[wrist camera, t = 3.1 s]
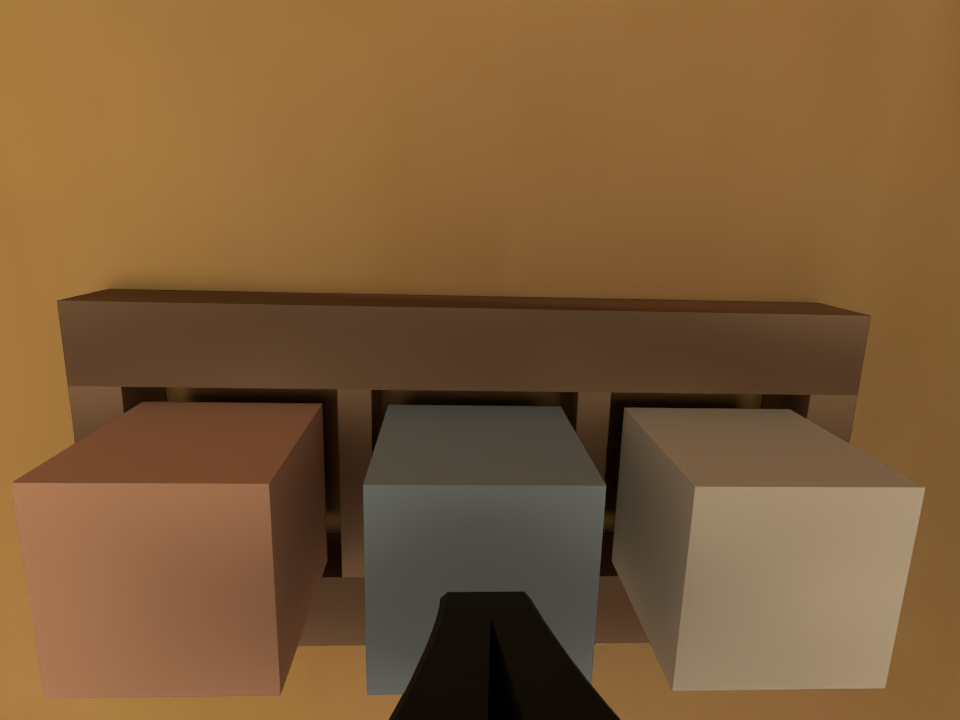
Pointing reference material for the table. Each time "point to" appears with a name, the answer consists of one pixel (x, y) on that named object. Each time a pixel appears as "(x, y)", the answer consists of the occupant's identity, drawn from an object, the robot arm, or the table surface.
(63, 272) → the table surface
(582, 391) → the socket board
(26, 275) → the table surface
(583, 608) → the slate blue key
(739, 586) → the cream key
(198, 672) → the terracotta key
